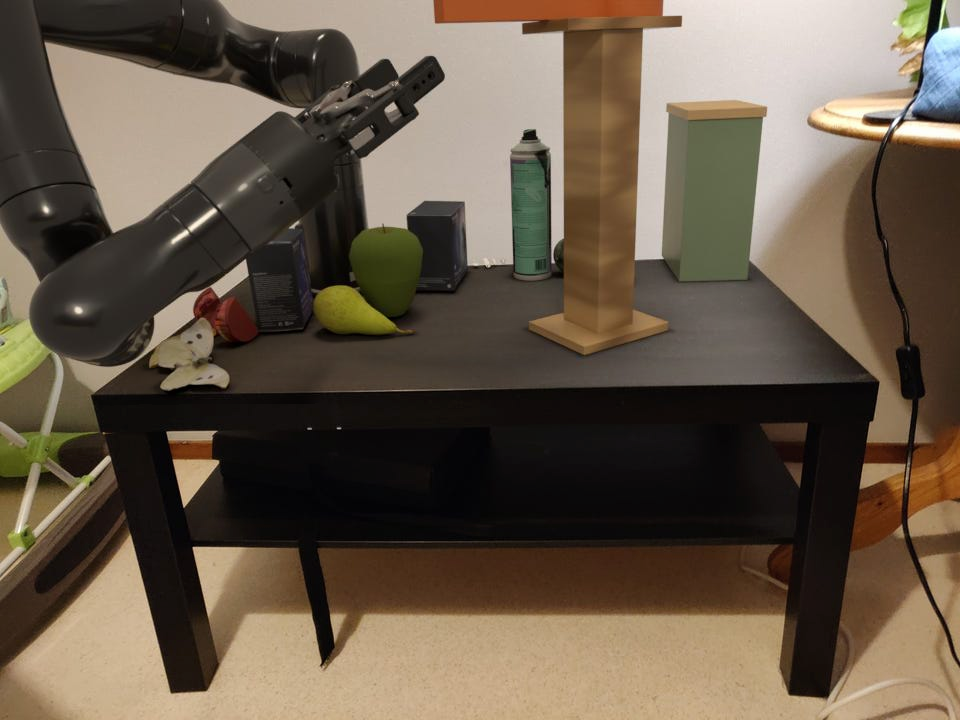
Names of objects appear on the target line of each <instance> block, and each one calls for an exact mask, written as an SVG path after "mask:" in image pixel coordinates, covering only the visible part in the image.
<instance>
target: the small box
mask: <svg viewBox="0 0 960 720" xmlns="http://www.w3.org/2000/svg"><path fill="white" fill-rule="evenodd" d="M466 221H467V220H466V202H465V201H462V200H461V201H459V200H452V201H451V200H450V201H449V200H423V201H422V202H420V204H418V205H417V206H416V207H414V209H412V210H411V211H410V212H408V213H406V229H407V230H408V231H410V232H411V233H413V234H414V235H415V236H416V237H417V238H418V240H419V242H420V244H421V247H422V249H423V256H422V266H421V274H420V277H419V281H418V285H417V288H416V291H431V292H432V291H434V292H435V291H439V292H441V291H443V292H453V291H455V290H456V289H457V287H458V286H459V285H460V283H461V281H462V280H463V278H464V277H465V275H466V274H467V272H468V270H469V268H468V267H469V266H468V264H467V263H468V246H467V245H468V242H467V222H466Z"/></svg>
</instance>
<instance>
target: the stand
mask: <svg viewBox="0 0 960 720" xmlns="http://www.w3.org/2000/svg"><path fill="white" fill-rule="evenodd" d="M682 26H683V15H663V16H637V17H590V18H564V19H555V20H546V21H527V22H521V35H545V34H546V35H547V34H551V35H553V34H562V40H563V41H562V62H563V63H562V64H563V65H562V68H563V69H562V72H563V73H562V74H563V75H562V76H563V77H562V79H563V80H562V81H563V83H562V86H563V87H562V91H563V92H562V94H563V99H562V100H563V101H562V102H563V105H562V109H563V110H562V111H563V112H562V114H563V117H562V118H563V120H562V121H563V123H562V125H563V127H562V128H563V131H562V132H563V239H564V272H563V312H561V313H557V314H553V315H548V316H545V317H541V318H537V319H534V320H530V321H528V330H529V331H532V332H534V333H536V334H537V335H540V336H542V337H544V338H546V339H548V340H551V341H553V342H555V343H557V344H559V345H561V346H563V347H565V348H568V349H570V350H572V351H574V352H576V353H579V354H581V355H583V356H587V355H590V354H593V353H597V352H600V351H603V350H607V349H609V348H613V347H616V346H617V347H618V346H620V345H625V344H628V343H630V342H633V341H636V340H640V339H644V338H647V337H650V336H654V335H657V334H660V333H663V332H667V331H669V321H666V320H664V319H661V318H658V317H656V316H653V315H650V314H647V313H644V312H641V311H638V310H636V309H634V297H635V296H634V295H635V267H636V266H635V264H636V241H637V240H636V239H637V237H636V236H637V208H638V185H639V184H638V183H639V182H638V181H639V153H640V152H639V151H640V123H641V95H642V72H643V71H642V69H643V44H644V43H643V41H644V40H643V39H644V31H648V30H658V29H671V28H672V29H673V28H681V27H682Z"/></svg>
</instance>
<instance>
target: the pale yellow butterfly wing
mask: <svg viewBox="0 0 960 720" xmlns="http://www.w3.org/2000/svg"><path fill="white" fill-rule="evenodd" d="M179 335H180V334H178V335H174V336H171V337H168V338H167V339H164V340H161V341H160V342H159V343H158V344H157V346H156V347H155V350H154V352H153V354H151V356H150V358H149V361H148V367H149V369H154V368H157V367H160V366H159V365H158V362H157V360H158V353H159V352H158V350H159V347H160V345H161V344H162V343H164V342H165V341H167V340H170V339H176V340H179Z"/></svg>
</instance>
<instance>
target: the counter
mask: <svg viewBox="0 0 960 720" xmlns="http://www.w3.org/2000/svg"><path fill="white" fill-rule="evenodd" d="M665 109H666V110H665V112H666V113H668V117H667V118H668V119H667V136H666V137H667V138H666V139H667V140H666V158H665V159H666V160H665V162H666V163H665V179H664V180H665V181H664V197H663V199H664V200H663V216H662V217H663V218H662V219H663V220H662V236H661V237H662V241H661V257H662V258H663V260H664V261H665V263H666V264H667V266H668V267H669V269H670V270H671V271H672V273H673V274H674V276H675V278H676V279H677V281H678V282H679V283H681V282H682V283H683V282H716V281H717V282H718V281H747V280H748V277H749V268H750V257H751V247H752V237H753V235H752V234H753V227H754V226H753V225H754V217H755V207H756V206H755V204H756V196H757V195H756V194H757V186H758V185H757V184H758V176H759V175H758V173H759V163H760V153H761V142H762V133H763V123H764V122H763V121H764V118H766V117H767V114H768V106H766V105H761V104H757V103H753V102H747V101H743V100H739V99H728V100H727V99H725V100H724V99H723V100H705V101H703V100H702V101H681V102H666V107H665Z"/></svg>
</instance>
